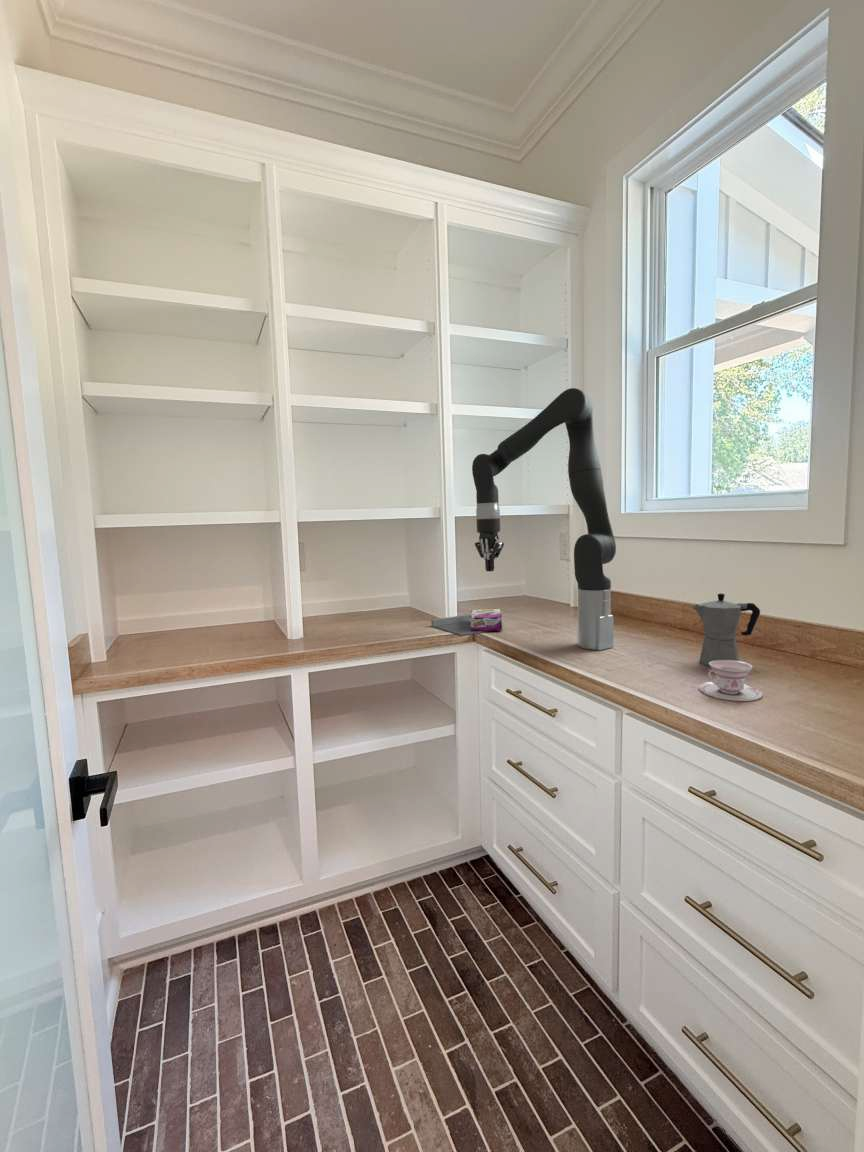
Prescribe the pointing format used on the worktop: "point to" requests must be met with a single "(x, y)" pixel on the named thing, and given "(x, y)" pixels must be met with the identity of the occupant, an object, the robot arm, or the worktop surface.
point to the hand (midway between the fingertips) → (489, 571)
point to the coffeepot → (723, 628)
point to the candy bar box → (486, 620)
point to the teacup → (730, 681)
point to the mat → (455, 625)
